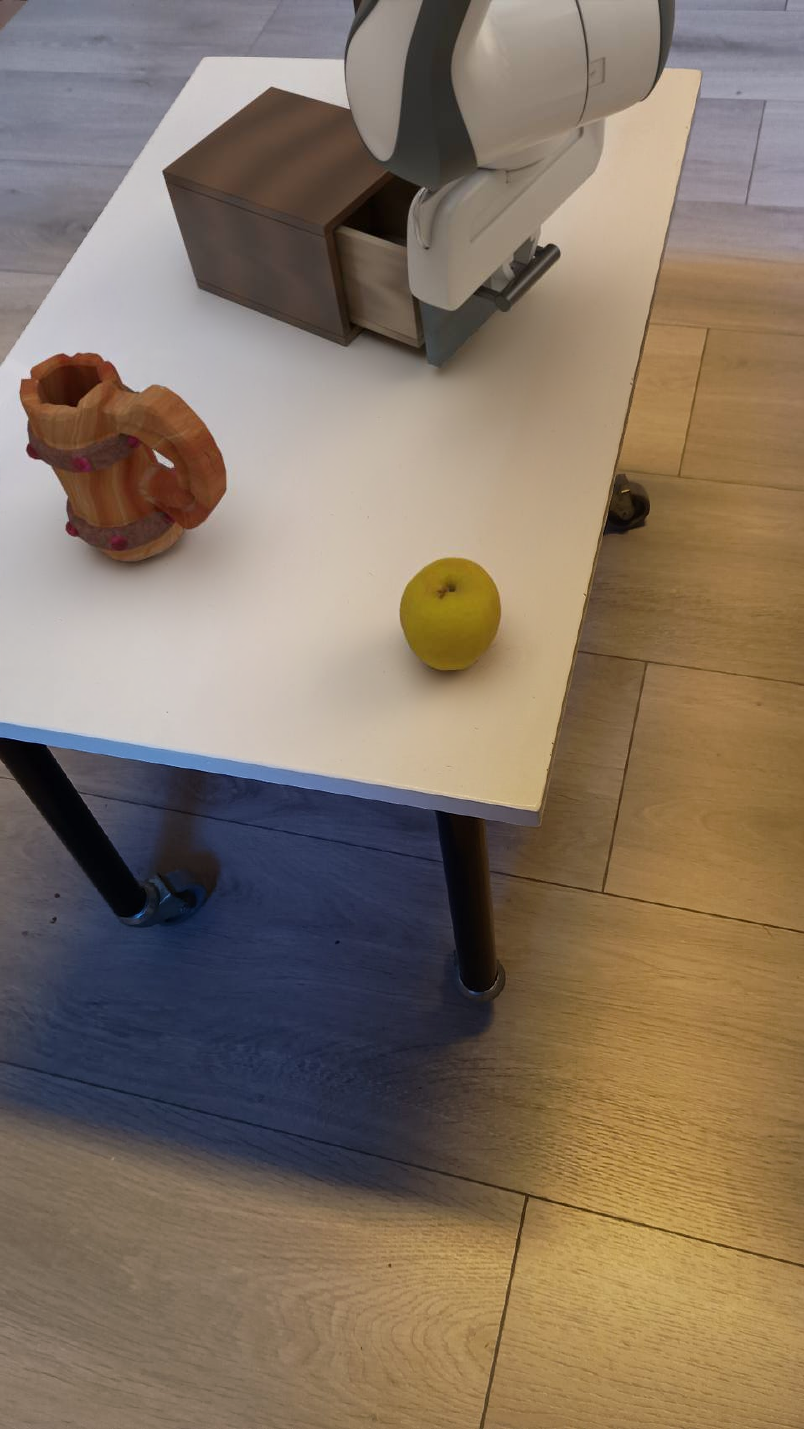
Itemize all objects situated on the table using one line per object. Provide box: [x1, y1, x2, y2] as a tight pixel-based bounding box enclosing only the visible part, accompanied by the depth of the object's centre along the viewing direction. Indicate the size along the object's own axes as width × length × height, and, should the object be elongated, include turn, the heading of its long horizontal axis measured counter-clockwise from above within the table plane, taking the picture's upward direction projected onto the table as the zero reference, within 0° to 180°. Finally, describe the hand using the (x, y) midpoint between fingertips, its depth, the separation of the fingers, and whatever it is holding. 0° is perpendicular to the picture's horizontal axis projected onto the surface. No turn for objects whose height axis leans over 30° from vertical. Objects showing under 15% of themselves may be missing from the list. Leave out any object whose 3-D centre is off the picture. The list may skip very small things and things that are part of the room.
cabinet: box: [161, 86, 395, 347], centre depth 93 cm, size 17×14×11 cm
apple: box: [399, 556, 502, 671], centre depth 69 cm, size 6×6×8 cm
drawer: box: [332, 175, 562, 369], centre depth 88 cm, size 20×13×9 cm, turn 54°
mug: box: [18, 352, 228, 562], centre depth 75 cm, size 15×8×15 cm, turn 62°
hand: (512, 288), depth 85 cm, fingers closed, pressing on drawer
